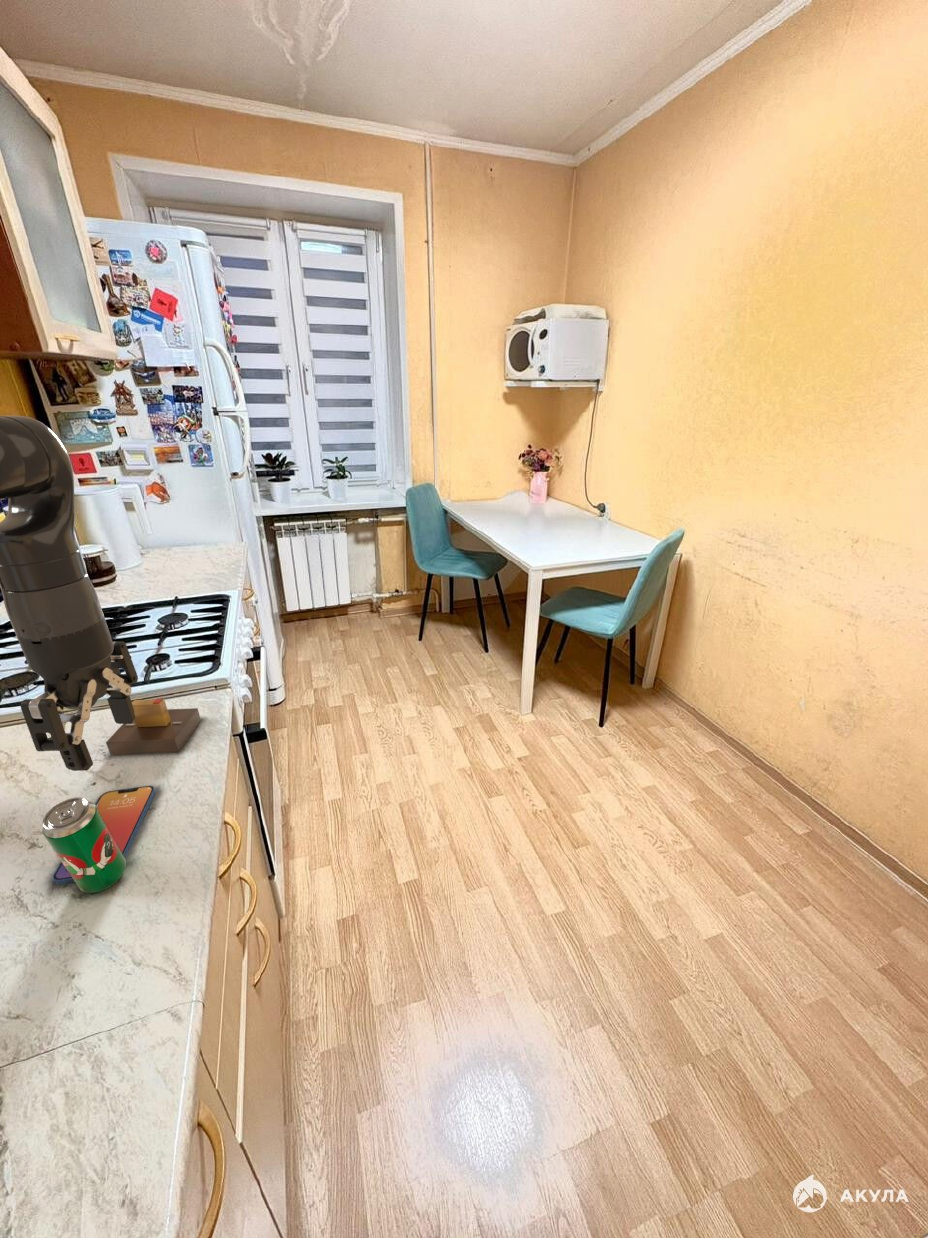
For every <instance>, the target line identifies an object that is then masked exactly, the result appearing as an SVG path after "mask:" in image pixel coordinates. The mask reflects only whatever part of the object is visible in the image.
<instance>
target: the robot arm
mask: <svg viewBox="0 0 928 1238" xmlns="http://www.w3.org/2000/svg"><path fill="white" fill-rule="evenodd" d="M3 500H7V501H8V504H7V515H6V516H5V518H3V519H2V520H1V521H0V591H1V594H2V598H3V603H4V609H5V611H6V614H7V617H8V620H9V622H10V624H11V626H12V629H13V632H14V634H15V636H16V638H17V641H18V643H19V645H20V648H21V651H22V653H23V655H24V658H25V660H26V663H27V665H28V668H29V669H30V670H31V671H32V672H33V673H35V674H37V675H38V676H39V677H41V679H43V682H44V685H43V686H44V687H43V689H44V692H43V693H41V694H39V696H37V697H36V698H26V699H23V700H22V701H21V703H20V710H21V712H22V715H23V718H24V721H25V723H26V726H27V729H28V732H29V734H30V737H31V740H32V742H33V746H34V748H35V750H36V752H39V753H40V752H59V753H60V756H61V759H62V762H63V763H64V766H65V768H66V769H67V770H68V771H74V772H78V771H81V772H82V771H83V772H84V771H85V772H86V771H88V770H90V769H91V768H92V767H93V766H94V762H93V758H92V756H91V754H90V751H89V748H88V746H87V743H86V741H85V739H83V732H84V726H85V723H87V722H88V721H89V720H90V717H91V711H92V707H93V706H95V705H96V703H97V701H99V700H100V699H101V698H103V697H105V696H107V697H108V698H107V703H108V706H109V708H110V711H111V714H112V718H113V720H114V722H115V723H116V724H117V725H118V724H119V725H123V724H131V723H132V722H133V721H134V720H135V719H136V717H135V714H134V708H133V705H132V702H133V701H132V699H131V694H132V687H131V686H132V684H136V683H137V682H138V681H139V676H138V673H137V670H136V668H135V665H134V662H133V660H132V656H131V654H130V651H129V648H128V646H127V643H126V642H125V641H113V638H112V636H111V632H110V630H109V627H108V624H107V620H106V617H105V615H104V612H103V609H102V606H101V602H100V599H99V596H98V594H97V593H98V592H97V591H96V589H95V586H94V585H93V583H92V581H91V579H90V577H89V574H88V572H87V571H88V570H87V568H86V566H85V562H84V560H83V556H82V553H81V551H80V547H79V544H78V542H77V539H76V534H75V528H76V527H75V523H76V522H75V521H76V506H75V503H76V502H75V478H74V469H73V465H72V461H71V458H70V455H69V453H68V450H67V449H66V447H65V445H64V444H63V442H62V440H61V439H60V438H59V436H57V434H55V432H54V431H53V430H52V429H51V428H50V427H48V425H45V424H44V423H43V422H41V421H40V420H38V419H35V418H33V417H29V416H25V415H15V414H14V415H13V414H12V415H10V414H9V415H0V501H3ZM121 670H123V671H124V673H122V672H121ZM64 709H68V710H71V711H72V710H77V711H76V713H74V714H65V712H64ZM67 723H70V724H71V726H70V730H69V731H70V732H67V733H66V724H67ZM47 734H49V735H50V737H48V735H47Z"/></svg>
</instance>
